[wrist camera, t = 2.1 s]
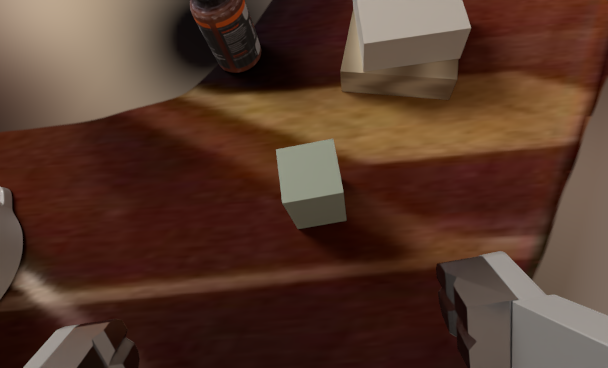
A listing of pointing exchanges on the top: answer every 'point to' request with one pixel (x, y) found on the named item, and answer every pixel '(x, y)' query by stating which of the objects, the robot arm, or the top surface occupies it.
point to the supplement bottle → (228, 32)
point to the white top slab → (409, 31)
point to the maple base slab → (396, 75)
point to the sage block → (311, 184)
